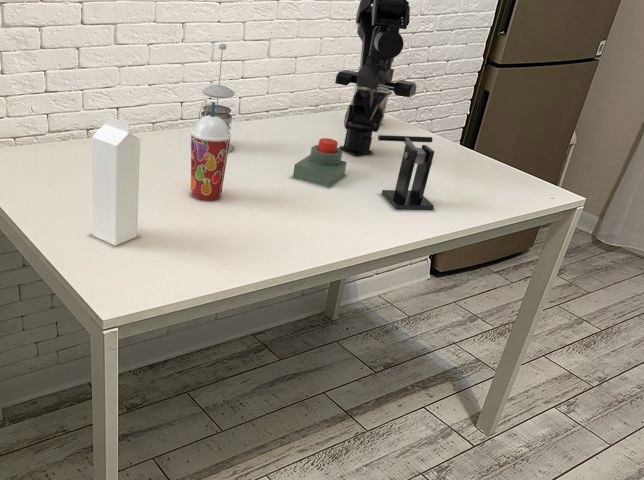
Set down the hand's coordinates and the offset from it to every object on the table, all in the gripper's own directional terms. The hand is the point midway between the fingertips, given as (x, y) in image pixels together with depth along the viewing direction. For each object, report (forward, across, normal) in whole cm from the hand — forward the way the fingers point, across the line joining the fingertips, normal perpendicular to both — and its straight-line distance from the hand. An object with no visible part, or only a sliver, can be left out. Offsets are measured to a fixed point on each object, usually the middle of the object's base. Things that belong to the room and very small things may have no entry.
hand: (368, 119), depth 181 cm
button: (+7, -5, -13) cm, 15 cm away
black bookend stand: (+13, +17, -16) cm, 27 cm away
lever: (+2, +15, -13) cm, 20 cm away
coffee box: (+9, -12, +38) cm, 41 cm away
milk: (+16, -22, -74) cm, 79 cm away
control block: (+12, -5, -15) cm, 20 cm away
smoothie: (+14, -19, -44) cm, 50 cm away
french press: (+12, -35, -15) cm, 40 cm away
